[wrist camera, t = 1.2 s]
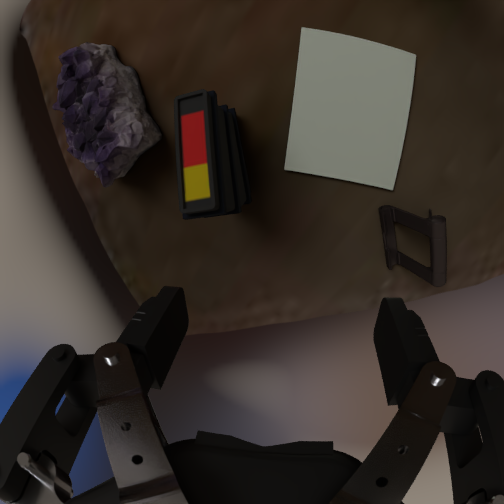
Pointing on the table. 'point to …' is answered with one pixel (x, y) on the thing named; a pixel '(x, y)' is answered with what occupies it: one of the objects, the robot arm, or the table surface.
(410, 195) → the table surface
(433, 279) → the portable electronic device stand
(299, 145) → the sage mat
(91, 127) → the geode
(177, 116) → the black red yellow block
